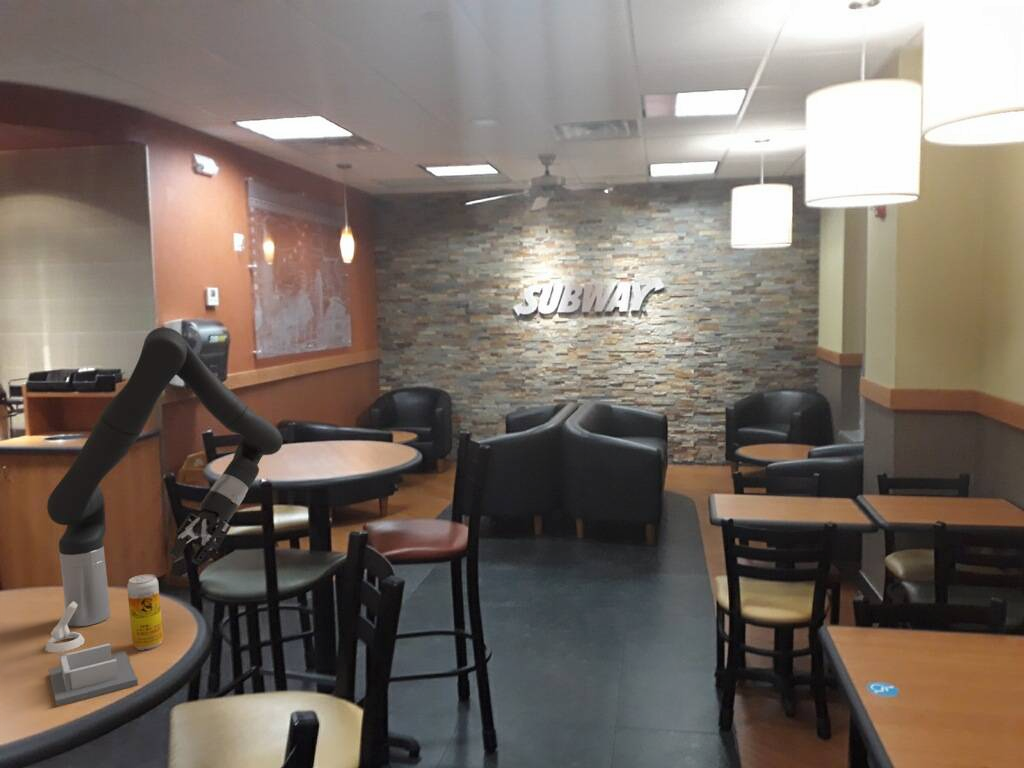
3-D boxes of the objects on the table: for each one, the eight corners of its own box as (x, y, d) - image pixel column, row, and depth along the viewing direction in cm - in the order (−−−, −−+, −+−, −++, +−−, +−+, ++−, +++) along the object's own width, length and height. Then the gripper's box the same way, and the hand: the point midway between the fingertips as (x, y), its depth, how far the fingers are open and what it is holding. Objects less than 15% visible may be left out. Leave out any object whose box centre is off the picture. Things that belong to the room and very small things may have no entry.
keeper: (49, 675, 166) (47, 652, 166) (125, 656, 174) (123, 634, 173) (56, 706, 153) (53, 682, 152) (137, 684, 160) (135, 661, 160)
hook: (92, 628, 176) (60, 614, 174) (67, 669, 179) (36, 656, 177) (105, 608, 183) (74, 594, 181) (81, 648, 186) (50, 635, 184)
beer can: (138, 653, 175) (131, 585, 173) (129, 645, 179) (123, 578, 177) (167, 644, 179) (161, 578, 177) (158, 636, 183) (152, 571, 181)
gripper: (196, 486, 195) (154, 546, 187) (232, 492, 186) (190, 556, 178) (217, 502, 199) (178, 562, 192) (253, 510, 191) (213, 572, 183)
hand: (183, 559), depth 185 cm, fingers open, 8 cm apart
